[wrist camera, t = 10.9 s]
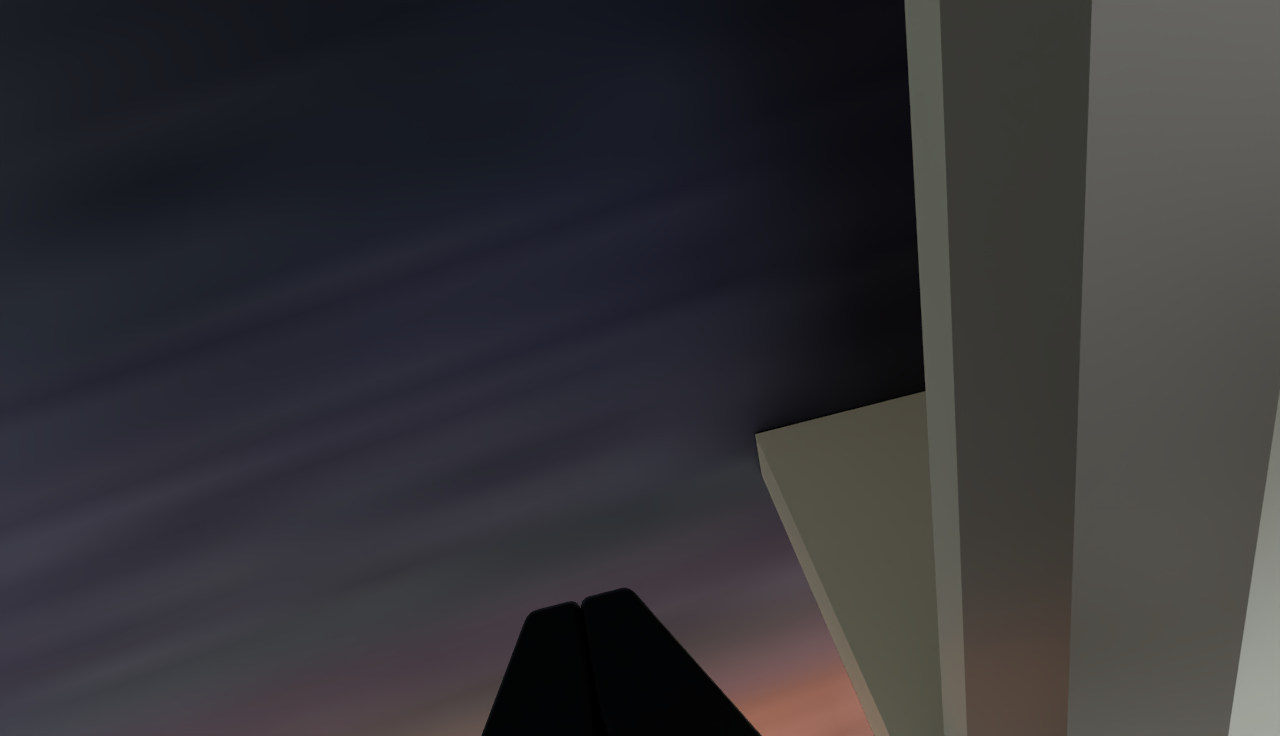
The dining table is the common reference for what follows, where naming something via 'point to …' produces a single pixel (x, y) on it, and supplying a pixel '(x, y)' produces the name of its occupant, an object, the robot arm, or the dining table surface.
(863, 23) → the dining table surface
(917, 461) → the housing
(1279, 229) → the lid
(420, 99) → the dining table surface
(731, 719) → the robot arm
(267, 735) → the dining table surface
